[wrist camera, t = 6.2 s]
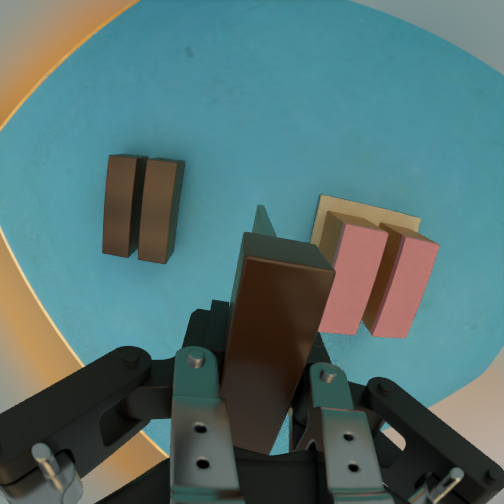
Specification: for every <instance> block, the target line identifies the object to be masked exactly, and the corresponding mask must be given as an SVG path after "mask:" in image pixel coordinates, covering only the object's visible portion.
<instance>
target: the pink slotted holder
mask: <svg viewBox="0 0 504 504" xmlns="http://www.w3.org/2000/svg"><path fill="white" fill-rule="evenodd" d="M420 221H421V219H420V218H417V217H414V216H410V215H406V214H402V213H398V212H394V211H390V210H387V209H383V208H378V207H374V206H370V205H366V204H362V203H358V202H353V201H349V200H344V199H340V198H335V197H331V196H326V195H322V194H321V195H320V199H319V203H318V208H317V212H316V217H315V221H314V226H313V230H312V234H311V239H310V244H315V245H317V247H318V248H319V249H320V251H321V252H322V253H323V255H324V256H325V257H326V259H327V260H328V261H329V263H330V264H331V265H332V267H333V268H334V269H335V271H336V275H335V278H334V282H333V285H332V288H331V292H330V295H329V298H328V301H327V304H326V307H325V311H324V314H323V317H322V320H321V323H320V326H319V329H318V332H326V333H337V334H349V335H356V333H357V330H358V327H359V324H360V322H361V320H362V321H363V323H364V324H365V326H366V327H367V329H368V330H369V332H370V333H371V335H372V336H375V337H391V338H406V336H407V334H408V332H409V329H410V327H411V324H412V322H413V320H414V317H415V315H416V312H417V310H418V307H419V305H420V302H421V299H422V297H423V294H424V291H425V288H426V286H427V283H428V280H429V277H430V274H431V271H432V268H433V265H434V262H435V259H436V256H437V253H438V249H439V246H440V245H439V244H437V243H435V242H434V241H432V240H430V239H428V238H426V237H425V236H423V235H421V234H419V233H417V232H418V229H419V225H420Z"/></svg>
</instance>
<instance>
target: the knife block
mask: <svg viewBox="0 0 504 504" xmlns="http://www.w3.org/2000/svg"><path fill="white" fill-rule="evenodd" d="M184 167H185V161H181V160H173V159H165V158H152V159H149V157H147V156H138V155H128V154H118V155H109V161H108V170H107V179H106V190H105V203H104V219H103V244H102V253H104V254H109V255H115V256H120V257H126V258H129V256H130V255H131V254H132V253H133V252H134V251H135V250H136V249H137V248H138V260H143V261H149V262H155V263H160V264H166V263H167V261H168V260H169V258H170V257H171V255H172V253H173V252H174V244H175V235H176V226H177V217H178V209H179V202H180V194H181V187H182V180H183V173H184Z"/></svg>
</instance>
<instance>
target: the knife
mask: <svg viewBox="0 0 504 504" xmlns="http://www.w3.org/2000/svg"><path fill="white" fill-rule="evenodd" d="M335 275H336V271H335V269H334V268H333V267H332V265H331V264H330V263H329V261H328V260H327V259H326V257H325V256H324V255H323V253H322V252H321V251H320V249H319V248H318V247H317V245H315V244H310V243H305V242H300V241H294V240H289V239H284V238H278V237H277V236H276V234H275V231H274V229H273V227H272V224H271V222H270V219H269V217H268V214H267V212H266V209H265V207H264V205H258V206H257V211H256V216H255V221H254V226H253V231H252V233H251V232H244V234H243V238H242V243H241V248H240V253H239V258H238V264H237V269H236V274H235V279H234V285H233V290H232V295H231V301H230V306H229V311H228V317H227V322H226V332H225V345H224V354H223V360H222V365H221V370H220V376H219V383H220V392H221V398H225V399H226V403H227V410H228V417H229V424H230V431H231V438H232V445H233V446H237V447H240V448H244V449H247V450H251V451H254V452H258V453H262V454H266V455H269V454H270V452H271V450H272V448H273V445H274V443H275V441H276V438H277V436H278V434H279V431H280V429H281V427H282V424H283V422H284V419H285V417H286V415H287V412H288V410H289V407H290V405H291V402H292V400H293V397H294V395H295V392H296V389H297V387H298V384H299V382H300V379H301V376H302V374H303V371H304V368H305V366H306V363H307V360H308V357H309V355H310V352H311V349H312V346H313V343H314V340H315V337H316V335H317V332H318V329H319V326H320V323H321V320H322V317H323V314H324V311H325V307H326V304H327V301H328V298H329V295H330V292H331V288H332V285H333V282H334V278H335Z"/></svg>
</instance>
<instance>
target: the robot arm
mask: <svg viewBox="0 0 504 504" xmlns="http://www.w3.org/2000/svg"><path fill="white" fill-rule="evenodd" d="M228 311H229V302H224V301H219V300H213V299H212V304H211V309H210V311H209V310H203V309H197V310H196V311H194V312H193V313H192V314H191V317H190V320H189V324H188V328H187V331H186V334H185V338H184V342H183V345H182V348H181V349H180V350H178V351H177V352H176V355H175V357H173V358H170V359H165V360H151V356H150V355H149V353H147V352H146V351H145V350H143V349H141V348H139V347H135V346H123V347H119V348H116V349H115V350H113V351H111V352H109V353H108V354H106V355H104V356H102V357H101V358H99V359H97V360H95V361H94V362H92V363H90V364H88V365H87V366H85V367H83V368H81V369H80V370H78V371H77V372H74V373H73V374H71V375H69V376H67V377H65V378H64V379H62V380H60V381H58V382H57V383H55V384H53V385H51V386H50V387H48V388H46V389H45V390H42V391H41V392H39V393H37V394H35V395H33V396H32V397H30V398H28V399H26V400H25V401H23V402H21V403H19V404H17V405H15V406H14V407H12V408H10V409H8V410H6V411H5V412H3V413H1V414H0V495H1V496H2V497H4V498H5V499H6V500H7V501H8V502H9V503H10V504H76V503H77V502H78V501H79V500H80V498H81V497H82V494H83V484H82V481H81V478H83V477H84V476H85V475H87V474H88V473H89V472H90V471H92V470H93V469H94V468H95V467H96V466H98V465H99V464H100V463H102V462H103V461H104V460H105V459H107V458H108V457H109V456H110V455H112V454H113V453H114V452H115V451H116V450H118V449H119V448H120V447H121V446H123V445H124V444H125V443H126V442H127V441H129V440H130V439H131V438H132V437H133V436H135V435H136V434H137V433H138V432H139V431H140V430H142V429H143V428H144V427H145V426H146V425H147V424H148V423H149V422H150V421H151V419H169V418H171V440H170V457H169V458H167V459H165V460H163V461H162V462H160V463H158V464H157V465H155V466H154V467H152V468H151V469H149V470H148V471H146V472H145V473H144V474H142V475H140V476H139V477H137V478H136V479H134V480H133V481H131V482H129V483H128V484H126V485H125V486H123V487H122V488H120V489H118V490H116V491H115V492H113V493H112V494H110V495H108V496H107V497H105V498H103V499H101V500H100V501H98V502H96V503H94V504H486V503H487V502H488V501H490V500H491V499H492V498H493V497H494V496H495V495H496V494H497V493H499V492H500V491H501V490H502V489H503V488H504V470H503V469H502V468H501V467H500V466H499V465H498V464H497V463H495V462H494V461H493V460H491V459H490V458H489V457H488V456H486V455H485V454H484V453H483V452H481V451H480V450H479V449H477V448H476V447H475V446H474V445H472V444H471V443H470V442H469V441H467V440H466V439H465V438H463V437H462V436H461V435H460V434H458V433H457V432H456V431H455V430H453V429H452V428H451V427H450V426H448V425H447V424H446V423H445V422H443V421H442V420H441V419H440V418H438V417H437V416H436V415H435V414H433V413H432V412H431V411H430V410H428V409H427V408H426V407H425V406H423V405H422V404H421V403H420V402H418V401H417V400H416V399H415V398H413V397H412V396H411V395H410V394H408V393H407V392H406V391H405V390H403V389H402V388H401V387H400V386H398V385H397V384H396V383H394V382H393V381H391V380H389V379H387V378H383V377H374V378H372V379H370V380H369V381H368V383H367V385H366V386H364V385H360V384H356V383H352V382H349V381H347V376H346V374H345V372H344V371H343V370H342V369H341V368H339V367H337V366H336V365H333V364H332V363H331V361H330V358H329V356H328V353H327V351H326V348H325V347H324V346H325V345H324V343H323V341H322V338H321V335H320V333H319V332H317V335H316V337H315V340H314V343H313V346H312V349H311V352H310V355H309V357H308V360H307V363H306V366H305V368H304V371H303V374H302V376H301V379H300V382H299V384H298V387H297V389H296V392H295V395H294V397H293V400H292V402H291V405H290V407H289V408H292V411H293V412H292V415H291V417H290V419H289V453H285V454H280V455H273V456H272V455H266V454H262V453H258V452H254V451H251V450H247V449H244V448H240V447H237V446H233V445H232V438H231V431H230V424H229V417H228V410H227V403H226V399H225V398H221V392H220V383H219V376H220V370H221V365H222V360H223V354H224V345H225V332H226V322H227V317H228ZM385 422H387V423H388V424H389V425H390V426H391V427H392V428H394V429H395V430H396V431H397V432H398V433H399V434H400V435H402V436H403V438H404V439H405V441H406V447H405V449H404V450H403V451H402V450H401V449H400V448H399V447H397V446H396V445H395V444H394V443H393V442H392V441H391V440H390V439H389V438H388V437H386V436H385V435H384V434H383V433H382V432H381V431H380V429H381V428H382V426H383V425H384V423H385ZM383 483H385V484H386V485H387V486H388V487H389V488H388V487H387V486H386V485H384V484H383Z"/></svg>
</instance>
